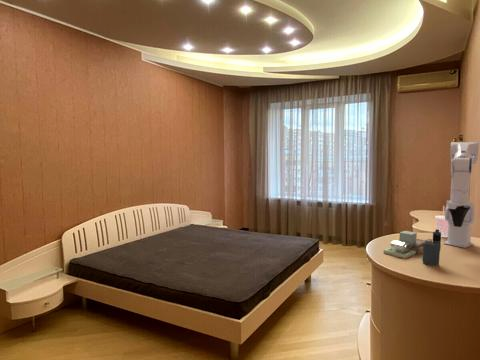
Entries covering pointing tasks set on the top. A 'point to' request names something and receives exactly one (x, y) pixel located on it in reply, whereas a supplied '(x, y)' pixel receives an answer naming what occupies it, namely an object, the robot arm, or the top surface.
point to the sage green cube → (408, 237)
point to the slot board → (419, 246)
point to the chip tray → (405, 255)
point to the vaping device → (432, 249)
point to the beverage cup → (442, 225)
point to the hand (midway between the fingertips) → (457, 226)
